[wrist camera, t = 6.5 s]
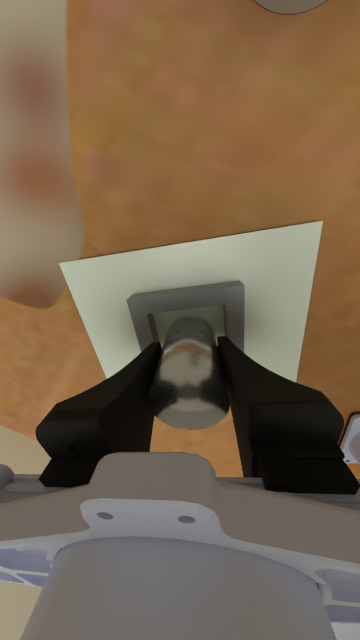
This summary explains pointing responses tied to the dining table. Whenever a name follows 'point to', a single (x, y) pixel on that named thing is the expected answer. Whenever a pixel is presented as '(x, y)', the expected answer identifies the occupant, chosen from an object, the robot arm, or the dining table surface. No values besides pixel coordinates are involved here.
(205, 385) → the key peg
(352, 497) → the robot arm
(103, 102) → the dining table surface
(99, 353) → the socket
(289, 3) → the coffee cup
